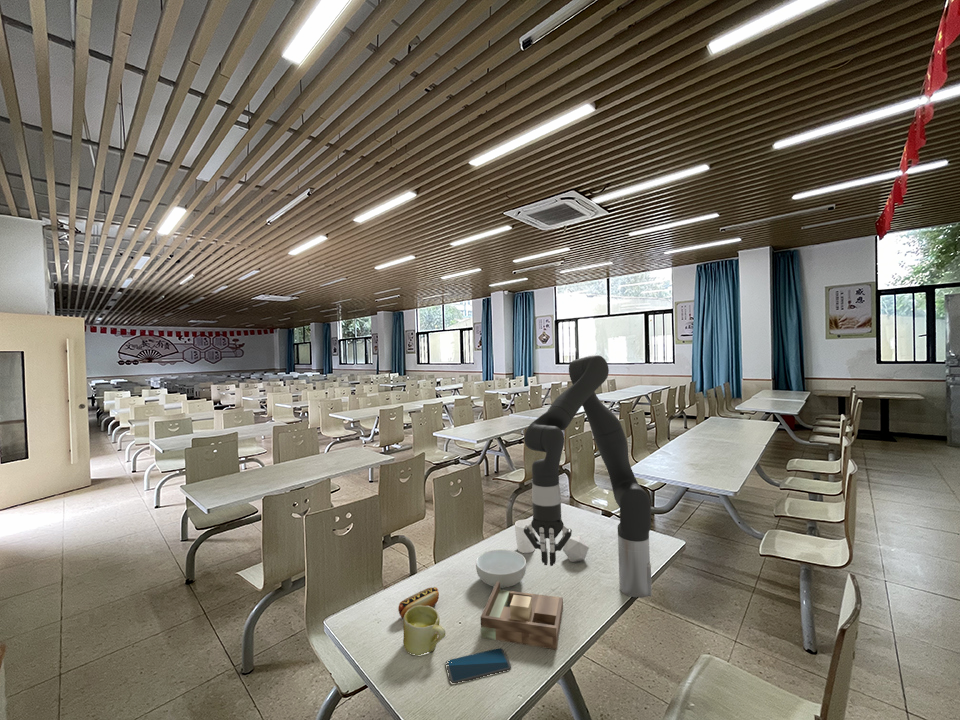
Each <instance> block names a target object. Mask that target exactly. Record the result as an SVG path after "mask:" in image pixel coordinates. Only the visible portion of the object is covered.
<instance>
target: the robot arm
mask: <svg viewBox="0 0 960 720" xmlns="http://www.w3.org/2000/svg"><path fill="white" fill-rule="evenodd" d="M609 371H610V369H609V365H608V361H607V360H606V359H605V358H604V357H603V356H602V355H600V354H591V355H588V356H584V357H581V358H577V359H573V360H572V361H571V362H570V363H569V365H568V374H569V379H570V381H571V384H572V385H571V386H569V387H568V388H567V389H566V390H564V391H563V392H562V393H560V394H559V395H557V397H556V398H555V400H554V401H553V402H552V404H551V405H550V406H549V407H548V409H547V411H546V412H544V413H543V414H541V415H540V416H539V417H537V418H536V419H535V420H534V421H532V422H531V423H529V426H528V427H527V428H526V429H525V433H524V437H523V438H524V439H523V441H524V443H525V446H526V447H527V449H529V450H530V451H531V450H532V451H536V452H541V453H545V458H541V459H537V460H534V461H533V463H532V466H531V472H532V473H531V476H532V486H531V487H532V488H531V500H532V501H531V502H532V504H531V505H532V522H531V524H530V525H526V526H525V528H524V533H525V534H526V536H527V537H528V539H529V540H530V542H531V543H532V545H533V546H534V548H535V550H537V549H538V550H540V553H541V562H542V564H543V566H548V562H549V566H550V567H553V566H554V565H556V561H557V558H556V557H557V556H556V554H557V553H556V552H561V551H563V547H564V545H565V544H566V542H567V541H568V540H569V538H570V537H572V533H573V530H572V529H571V528H567V527H566V526H564V525H565V524H564V522H563V519H562V501H561V500H562V499H561V497H562V496H561V488H560V487H561V486H560V477H559V476H560V472H559V468H560V463H561V457H562V454H563V449H564V446H565V435H564V433H563V431H564V430H566V429H567V428H568V427H569V426H570V424H571V422H572V421H573V419H574V418H575V416H576V414H577V413H578V412H579V410H580V409H581V408H582V407H583V410H584V414H585V416H586V418H587V422H588V423H589V427H590V430H591V433H592V436H593V439H594V441H595V445H596V447H597V449H598V452H599V454H600V457H601V460H602V461H603V463H604V465H605V467H606V471H607V473H608V476H609V480H610V484H611V487H612V492H613V497H614V500H615V503H616V504H617V506H618V507H619V523H618V524H617V545H618V547H617V548H618V550H617V553H618V575H619V576H618V579H619V581H618V582H619V583H618V584H619V590H620V591H621V592H622V593H623V594H624V595H626V596H628V597H631V598H635V599H636V598H637V597H638V596H639V597H638V598H637V599H641V598H646V597H647V598H648V597H653V593H652V592H653V589H652V566H651V565H652V564H651V555H650V553H651V552H650V532H651V528H652V507H651V506H652V504H651V500H650V496H649V494H648V493H647V492H646V490H644V489H643V487H641V486H640V484H639V482H638V480H637V478H636V477H635V475H634V472H633V469H632V467H631V464H630V460H629V459H630V458H629V448H628V441H627V438H626V435H625V432H624V429H623V426H622V423H621V421H620V420H619V418H618V417H617V416H616V414H614V412H612V410H610V409H609V408H608V407H607V406H605V404H604V403H603V402H602V401H601V400H600V398H599V397H598V395H597V394H596V391H597V390H598V388H600V387H601V386H602V385H603V384H604V382H605V381H606V380H607V379H608V376H609ZM533 529H534V530H535V534H534V533H533ZM561 532H562V534H561V535H562V537H561V538H560V540H558V543H556V539H557V537H558V536H559V535H560V533H561ZM536 534H537V535H536ZM537 536H538V537H539V538H538V537H537ZM547 539H548V540H549V554H548V548H547ZM548 555H549V556H548ZM548 557H549V558H548ZM548 559H549V560H548Z"/></svg>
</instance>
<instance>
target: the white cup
mask: <svg viewBox="0 0 960 720" xmlns="http://www.w3.org/2000/svg"><path fill="white" fill-rule="evenodd" d="M532 520H533V519H532ZM532 520H531V519H527V518H526V519H519V520H516V521H515V523H514V529H515V541H516V548H517V551H518V553H523V554H530V553H533V552H534V551H535V550H536V549H535V548H534V546H533V545H532V543H531V542H530V540H529V539H528V537H527V536H526V534H525V533H524V528H525V526H526V525H530V524H531V522H532ZM533 533H534V534H535V535H536V531H535V530H534V529H533Z"/></svg>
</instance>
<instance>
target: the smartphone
mask: <svg viewBox="0 0 960 720" xmlns="http://www.w3.org/2000/svg"><path fill="white" fill-rule="evenodd" d="M449 660H450V661H448V660H446V661H445V663H447V661H448V662H449V663H447V664H446V665H449V666H447V670H448V673H449V678H450V681H451V682H452V683H458V682H462V681H467V682H470V681H469V680H471V681H474V680H473V679H475V680H477V679H476V678H479V679H481V678H480V677H483V676H487V675H490V674H495V673H498V674H500V673H499V672H502V673H504V672H503V671H506V672H508V671H507V670H509V671H510V670H512V665H511V662H510V660H509V658H508V655H507V654H506V652H505V649H503V648H501V647H498V648H493V649H489V650H485V651H482V652H481V651H480V652H477V653H472V654H469V655H463V656H461V657H460V656H459V657H455V658H451V659H449ZM451 662H452V663H451ZM447 670H446V671H447ZM495 675H496V674H495ZM487 677H488V676H487ZM449 678H448V679H449ZM483 678H484V677H483Z"/></svg>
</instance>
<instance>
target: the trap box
mask: <svg viewBox="0 0 960 720" xmlns="http://www.w3.org/2000/svg"><path fill="white" fill-rule="evenodd" d="M513 595H521V596H529V597H531V598H532V617H531V621H530V622H527V621H520V620H513V619H511V618H510V604H511V601H512V598H513ZM563 599H564V597H562V596H561V597H560V596H553V595H544V594H539V593H538V594H537V593H530V592H522V591H521V592H520V591H512V590H504V589H501V588H500V582H498V581H497V582H496V584H495V586H493V588H492V591H491V594H490V595H489V597H488V600H487V602H486V604H485V607H484V608H483V611H482V613H481V616H480V636H481V639H487V640H495V641H500V642H508V643H512V644H519V645H520V644H521V645H525V646H530V647H531V646H532V647H537V648H544V649H545V648H546V649H551V650H558V643H559V639H560V638H559V637H560V630H561V626H562V625H561V624H562V619H563V618H562V617H563V611H564V600H563Z"/></svg>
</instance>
